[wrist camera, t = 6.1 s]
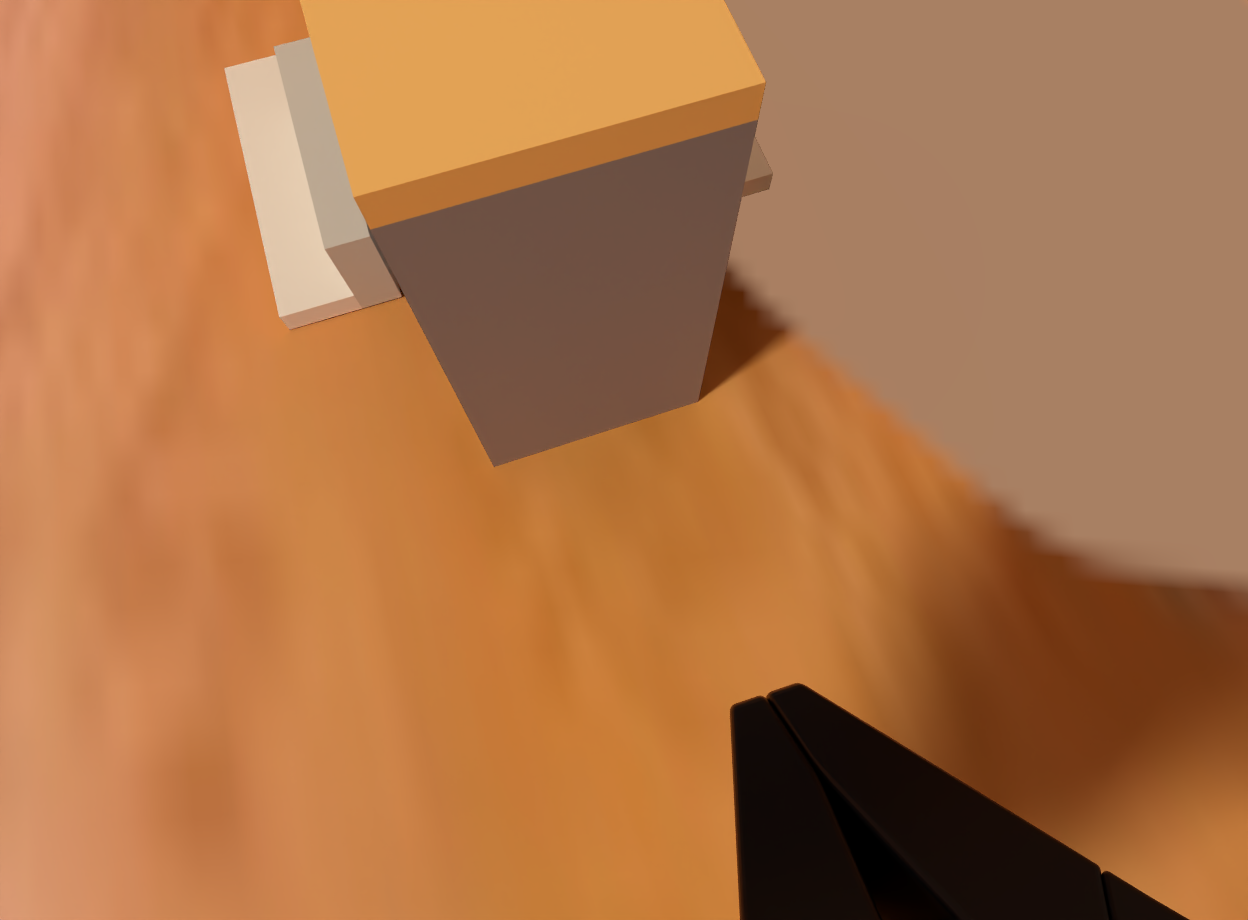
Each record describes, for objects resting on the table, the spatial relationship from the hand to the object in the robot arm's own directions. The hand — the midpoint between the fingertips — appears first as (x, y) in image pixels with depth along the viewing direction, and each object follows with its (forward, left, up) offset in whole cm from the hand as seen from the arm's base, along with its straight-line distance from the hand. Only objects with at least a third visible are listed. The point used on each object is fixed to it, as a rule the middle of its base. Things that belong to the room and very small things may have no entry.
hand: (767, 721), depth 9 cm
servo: (+9, -7, -8) cm, 14 cm away
